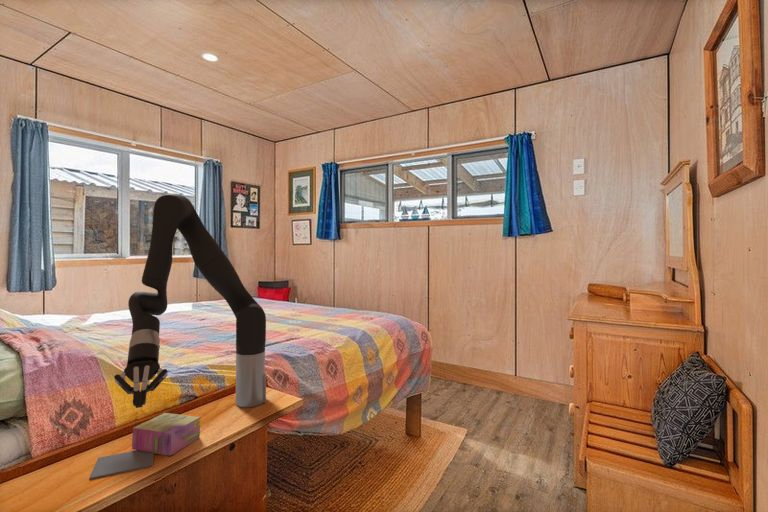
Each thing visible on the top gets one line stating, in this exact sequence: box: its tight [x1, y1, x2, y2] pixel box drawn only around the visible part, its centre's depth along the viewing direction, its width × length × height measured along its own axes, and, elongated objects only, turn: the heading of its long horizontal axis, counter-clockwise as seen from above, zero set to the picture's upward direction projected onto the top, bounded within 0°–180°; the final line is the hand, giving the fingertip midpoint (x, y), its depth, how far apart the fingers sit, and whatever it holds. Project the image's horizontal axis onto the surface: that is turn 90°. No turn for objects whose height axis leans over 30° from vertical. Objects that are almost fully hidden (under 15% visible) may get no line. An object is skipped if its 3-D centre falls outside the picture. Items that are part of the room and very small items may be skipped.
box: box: [131, 412, 201, 457], centre depth 99 cm, size 10×6×12 cm
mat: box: [88, 450, 155, 481], centre depth 90 cm, size 12×9×1 cm
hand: (139, 406), depth 98 cm, fingers closed
